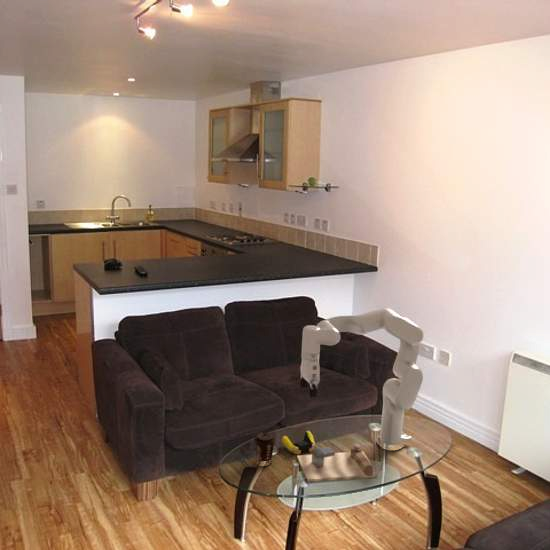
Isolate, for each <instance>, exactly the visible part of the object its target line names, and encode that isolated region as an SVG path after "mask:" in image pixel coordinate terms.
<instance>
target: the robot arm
mask: <svg viewBox="0 0 550 550" xmlns="http://www.w3.org/2000/svg"><path fill="white" fill-rule="evenodd" d="M381 330H384V331H385V332H387V333H388V334H389V335H391V336H393V337H395V338H397V339H399V349H398V352H397V355H396V358H395V360H394V363H393V367H392V372H393V374H394V375H395V376H396V377H397V378H396V377H392V378H389V379H387V380H386V381H385V382H384V383H383V387H382V399H383V400H382V401H383V403H382V414H381V422H380V423H381V424H380V433H379V434H380V435H379V437H380V441H381V442H382V443H385V444H388V445H398V444H399V443H400V442H403V441H405V440H411V441H412V436H407V434H403V426H404V415H405V411H408V410H409V409H411V408H412V407H413V406H414V405H415V403H416V400H417V398H418V395H419V392H420V390H421V386H422V384H423V379H424V374H423V372H422V369H421V368H420V367H419V366H418V365H417V364H416V363H417V361H418V357H419V353H420V349H421V348H420V347H421V342H422V341H423V340H424V339H423V338H424V331H423V330H422V328H421V327H420V326H419V325H417V324H416V323H414V322H413V321H412V320H410V319H409V318H407V317H405V316H403V317H402V316H401V315H399V314H398V313H396V311H394V310H392V309H390V308H387V307H383V308H380V309H379V308H378V309H375V310H372V311H369V312H365V313H362V314H358V315H338V316H332V317H329V318H325V319H324V320H323V319H322V320H321V321H320V322H318V323H317V324H316V325H314V324H313V325H311V324H310V325H305V326H304V327H303V328H302V336H301V337H302V338H301V340H302V341H301V355H300V356H301V364H300V366H299V368H300V371H299V373H300V386H299V387H300V388H301V389H302V388H304V389H305V388H308V385H310V386H309V387H310V388H309V398H317V397H318V387H319V385H320V371H321V370H320V354H321V353H320V351H321V345H325V346H334V345H337V344H338V343H340V340H341V333H352V334H356V335H361V336H362V335H366V334H369V333H374V332H377V331H381ZM308 383H309V384H308ZM405 442H406V441H405Z"/></svg>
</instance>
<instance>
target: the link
mask: <svg viewBox="0 0 550 550" xmlns="http://www.w3.org/2000/svg"><path fill="white" fill-rule="evenodd" d="M361 451H362V449H361V447H360V448H359V449H358V450H357V451H356V450H354V448H353V446H352V447H351V448H350V452H351V454H350V456H351V457H352V458H354V459H355V461H356V462H357V463H358V465H359V466H360V467H361V469H362V470H363V472H364V473H365V474H366V475H367V476H372V475H373V468H374V467H372V466H373V464H372V463H371V462H370V463H371V464H372V465H371V464H370V463H369V461H370V460H369V459H368V460H369V461H368V460H367V459H366V458H365V456H364V455H363V454H362V452H361Z"/></svg>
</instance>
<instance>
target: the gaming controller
mask: <svg viewBox="0 0 550 550" xmlns="http://www.w3.org/2000/svg"><path fill="white" fill-rule="evenodd" d="M281 444H282V446H284V448H285V449H286V450H287V451H288V452H290V453H292V454H293V453H294V455H303V454H306V453H310V452H311V453H312V449H316V448H315V447H316V443H315V439H314V435H313V434H312V432H311V431H309V430H306V431H305V432H304V437H303V440H299V441H296V442H292V441H291V440H290V439H289V437H288V435H287V436H286V435H284V436H282V438H281Z"/></svg>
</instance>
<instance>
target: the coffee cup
mask: <svg viewBox="0 0 550 550" xmlns="http://www.w3.org/2000/svg"><path fill="white" fill-rule="evenodd" d="M275 440H276V439H275V436H274V435H273V433H271V432H268V431H261V432H259V433H257V434H256V435H255V437H254V444H255V448H254V449H255V456H256V461H258V462H261V461H267V460H268V461H269V460H271V461H272V459H273V456H274V453H273V452H274V449H275V448H274V446H275Z"/></svg>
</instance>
